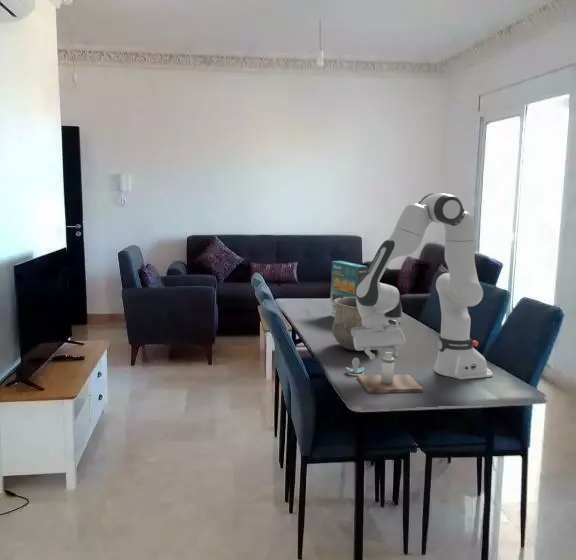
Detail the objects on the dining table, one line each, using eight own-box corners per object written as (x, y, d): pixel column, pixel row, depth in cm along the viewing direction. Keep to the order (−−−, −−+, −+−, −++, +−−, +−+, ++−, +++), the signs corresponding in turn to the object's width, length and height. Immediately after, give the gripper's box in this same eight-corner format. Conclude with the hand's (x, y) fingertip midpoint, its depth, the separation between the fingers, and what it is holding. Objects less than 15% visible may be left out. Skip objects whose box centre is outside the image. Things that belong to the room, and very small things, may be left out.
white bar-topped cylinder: (391, 379, 232) (392, 350, 230) (394, 383, 228) (396, 354, 226) (379, 379, 231) (380, 350, 229) (382, 383, 227) (384, 354, 225)
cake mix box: (364, 323, 325) (367, 266, 320) (355, 324, 322) (358, 267, 317) (338, 314, 343) (340, 260, 338) (329, 315, 340) (332, 261, 335)
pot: (390, 357, 265) (393, 308, 262) (335, 356, 263) (337, 307, 260) (377, 341, 290) (380, 296, 286) (327, 340, 288) (329, 295, 284)
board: (408, 377, 239) (408, 374, 239) (422, 391, 223) (423, 388, 223) (357, 378, 236) (357, 375, 236) (368, 392, 221) (368, 389, 220)
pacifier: (366, 377, 239) (363, 371, 245) (367, 361, 238) (364, 356, 244) (348, 377, 238) (344, 371, 244) (348, 361, 237) (345, 356, 243)
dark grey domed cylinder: (377, 321, 331) (379, 293, 328) (391, 318, 337) (393, 291, 334) (391, 325, 323) (393, 296, 320) (405, 322, 329) (407, 294, 326)
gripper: (352, 323, 232) (361, 355, 225) (401, 321, 238) (412, 352, 231) (347, 331, 237) (356, 364, 230) (395, 329, 243) (405, 361, 236)
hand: (384, 358), depth 230 cm, fingers open, 8 cm apart
